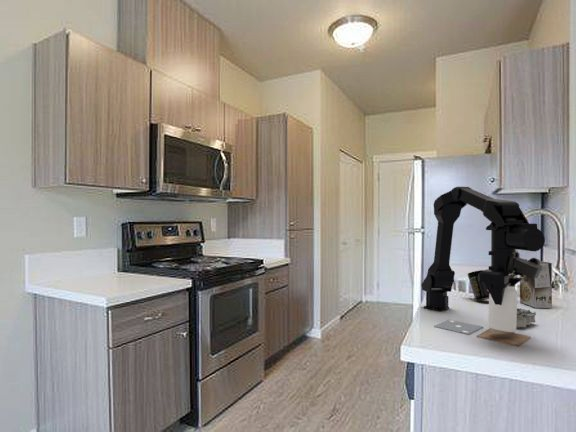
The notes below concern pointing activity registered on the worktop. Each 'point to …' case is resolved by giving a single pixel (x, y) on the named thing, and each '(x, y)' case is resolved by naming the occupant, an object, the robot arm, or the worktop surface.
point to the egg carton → (524, 317)
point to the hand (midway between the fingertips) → (503, 305)
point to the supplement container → (478, 286)
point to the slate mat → (458, 327)
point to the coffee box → (538, 288)
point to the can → (504, 312)
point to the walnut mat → (504, 337)
